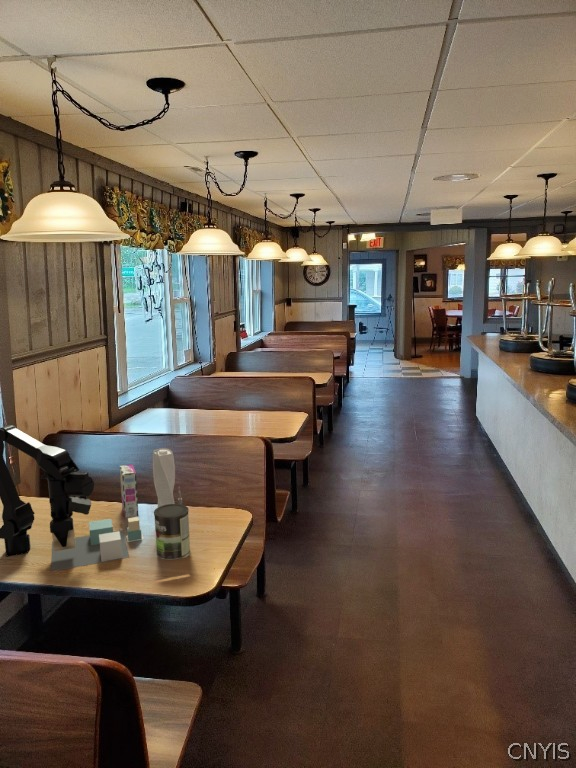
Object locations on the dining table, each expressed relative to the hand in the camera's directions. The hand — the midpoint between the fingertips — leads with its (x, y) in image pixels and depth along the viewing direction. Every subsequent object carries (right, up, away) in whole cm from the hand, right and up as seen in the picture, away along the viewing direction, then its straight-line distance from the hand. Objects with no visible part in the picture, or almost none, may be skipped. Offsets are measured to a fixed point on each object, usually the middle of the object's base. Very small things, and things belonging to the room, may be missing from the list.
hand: (64, 542), depth 176 cm
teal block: (+7, -2, +13) cm, 15 cm away
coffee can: (+32, -5, +3) cm, 33 cm away
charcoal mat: (+5, -4, +6) cm, 9 cm away
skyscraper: (+26, -1, +24) cm, 36 cm away
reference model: (+18, -3, +14) cm, 22 cm away
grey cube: (+14, -4, +2) cm, 14 cm away
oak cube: (0, -1, 0) cm, 1 cm away
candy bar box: (+10, +1, +35) cm, 37 cm away
